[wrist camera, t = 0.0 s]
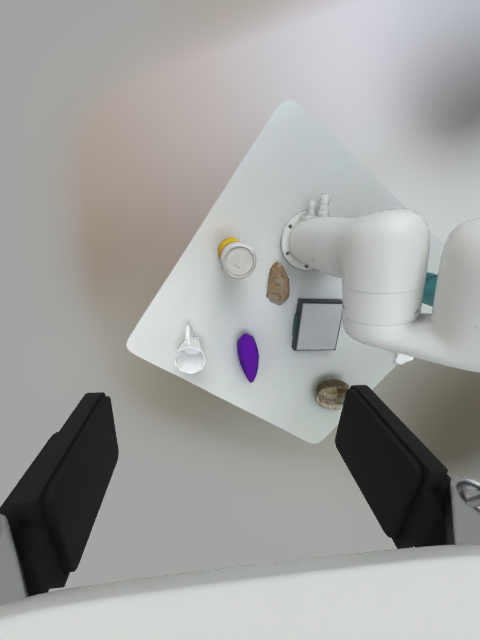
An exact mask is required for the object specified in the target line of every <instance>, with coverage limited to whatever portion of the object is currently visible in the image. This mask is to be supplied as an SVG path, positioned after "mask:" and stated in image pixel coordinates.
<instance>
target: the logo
mask: <svg viewBox="0 0 480 640" xmlns="http://www.w3.org/2000/svg"><path fill="white" fill-rule="evenodd" d="M413 358H414V357H411V356H408V355H404V354H400V353H396V356H395V358H394V360H395V361H396V362H397V363H398V364H403V363H405V362H406V361H411V360H413Z"/></svg>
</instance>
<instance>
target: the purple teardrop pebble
mask: <svg viewBox="0 0 480 640" xmlns="http://www.w3.org/2000/svg"><path fill="white" fill-rule="evenodd" d="M237 350H238V356H239V361H240V364H241V367H242V369H243V371H244V374H245V375H246V377H247V379H248V380H249V382H250V383H252V382H253V381H254V379H255V377H256V374H257V370H258V360H259V355H258V349H257V345H256V342H255V340H254V338H253V337H252V336H250V335H249V334H246V333H245V334H243V335H242V336H241V338H240V339H239V340H238V342H237Z"/></svg>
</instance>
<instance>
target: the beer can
mask: <svg viewBox="0 0 480 640" xmlns="http://www.w3.org/2000/svg"><path fill="white" fill-rule="evenodd" d="M218 256H219V259H220V262H221V266H222V269H223V270H224V272H225V273H226V274H227V275H228V276H230V277H232V278H235V279H242V278H245V277H247V276H249V275H250V274H251V273H252V272H253V270H254V268H255V266H256V255H255V253H254V251H253V249H252V248H251V247H250V246H248V245H247V244H245V243H244V242H242V241H241V240H239V239H237V238H234V237H230V238H227V239H225V240H223V241H222V242H221V244H220V245H219V248H218Z"/></svg>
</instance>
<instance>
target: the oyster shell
mask: <svg viewBox="0 0 480 640" xmlns="http://www.w3.org/2000/svg"><path fill="white" fill-rule="evenodd" d="M269 277H270V278H269V284H268V294H267V295H266V296H267V297H268V298H269V300H270V301H271V302H273V303H276V304H277V305H281V304H282V303H283V302H285V301H286V300H287V298H288V297H289V279H288V277H287V274H286V272H285V270H284V267H283V266H282V265H281V263H279V262H277V263H275V264H274V265H273V266H272V268H271V272H270V276H269Z"/></svg>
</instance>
